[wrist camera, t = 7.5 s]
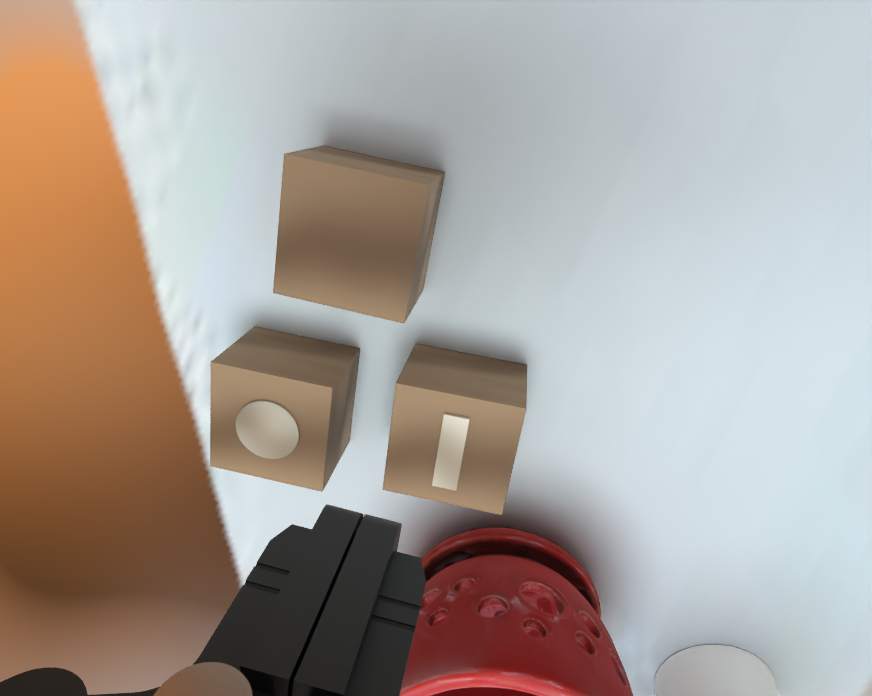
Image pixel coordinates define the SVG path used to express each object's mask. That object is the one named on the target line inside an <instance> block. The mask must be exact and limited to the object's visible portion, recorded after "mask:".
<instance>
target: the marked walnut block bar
mask: <svg viewBox="0 0 872 696" xmlns="http://www.w3.org/2000/svg"><path fill="white" fill-rule="evenodd" d="M526 394H527V365H525V364H520V363H515V362H509V361H504V360H499V359H494V358H488V357H483V356H478V355H473V354H467V353H462V352H457V351H451V350H446V349H441V348H436V347H430V346H425V345H420V344H415V346H414V348H413V350H412V352H411V354H410V356H409V358H408V360H407V362H406V364H405V366H404V368H403V370H402V372H401V374H400V376H399V378H398V380H397V382H396V388H395V396H394V404H393V412H392V419H391V427H390V435H389V443H388V451H387V459H386V467H385V475H384V483H383V490H386V491H391V492H396V493H400V494H405V495H410V496H415V497H419V498H424V499H429V500H433V501H438V502H443V503H448V504H452V505H457V506H462V507H466V508H471V509H476V510H481V511H485V512H490V513H495V514H499V515H502V512H503V507H504V503H505V499H506V494H507V490H508V486H509V481H510V477H511V473H512V468H513V464H514V459H515V455H516V451H517V446H518V442H519V438H520V433H521V429H522V425H523V420H524V416H525V412H526Z"/></svg>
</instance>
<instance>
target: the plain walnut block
mask: <svg viewBox="0 0 872 696" xmlns="http://www.w3.org/2000/svg"><path fill="white" fill-rule="evenodd" d="M444 175H445V172H442V171H438V170H433V169H428V168H424V167H419V166H415V165H410V164H405V163H401V162H396V161H391V160H387V159H382V158H377V157H373V156H368V155H363V154H359V153H354V152H350V151H345V150H340V149H336V148H331V147H326V146H320V147H315V148H310V149H305V150H301V151H296V152H291V153H286V154H284V164H283V177H282V189H281V201H280V214H279V226H278V239H277V251H276V264H275V276H274V289H273V293H276V294H280V295H284V296H289V297H293V298H297V299H302V300H306V301H310V302H315V303H319V304H323V305H327V306H332V307H336V308H340V309H345V310H349V311H353V312H358V313H362V314H366V315H371V316H375V317H379V318H383V319H388V320H392V321H396V322H401V323H405V321H406V319H407V317H408V316H409V314H410V312H411V310H412V309H413V307H414V305H415V303H416V302H417V300H418V298H419V297H420V295H421V293H422V291H423V287H424V281H425V276H426V271H427V265H428V260H429V255H430V250H431V244H432V239H433V234H434V228H435V223H436V218H437V212H438V207H439V202H440V196H441V191H442V186H443V180H444Z"/></svg>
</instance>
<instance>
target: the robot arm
mask: <svg viewBox="0 0 872 696" xmlns="http://www.w3.org/2000/svg"><path fill="white" fill-rule="evenodd" d="M400 531H401V523H397V522H394V521H390V520H386V519H382V518H378V517H374V516H370V515H367V514H365V516H364V517H363V514H362V513H358V512H354V511H350V510H347V509H343V508H339V507H335V506H331V505H326V506H325V507H324V508H323V510H322V512H321V514H320V516H319V518H318V520H317V521H316V523H315V525H314V527H313V529H308V528H304V527H300V526H296V525H293V524H292V525H291V526H289V527H288V528H287V529H285V530H284V531H283V532H281V533H280V534H278V535H277V536H276V537H274V538H273V539H272V540H270V542H269V543H268V545H267V547H266V548H265V550H264V552H263V553H262V555H261V557H260V558H259V560H258V561H257V565H256V567H254V568H253V570H252V571H251V573H250V575H249V576H248V578H247V580H246V583H245V585H243V586H242V588H241V589H240V591H239V593H238V594H237V596H236V598H235V599H234V601H233V602H232V604H231V606H230V608H229V609H228V611H227V613H226V614H225V616H224V617H223V619H222V620H221V622H220V624H219V625H218V627H217V629H216V630H215V632H214V634H213V635H212V637H211V639H210V640H209V642H208V643H207V645H206V647H205V648H204V650H203V652H202V653H201V655H200V656H199V658H198V659H197V660H196V662H195V663H194V664H193V665H192V666H189V667H186V668H184V669H182V670H180V671H178V672H177V673H175V674H174V675H172V676H171V677H170V678H169V679H167V680H166V681H165V682H164V683H163V684H162V686H160V687H157V688H155V689H151V690H147V691H143V692H135V693H119V694H101V695H87V691H86V687H85V685H84V683H83V681H82V680H81V679H80V678H79V677H78V676H77V675H75V674H74V673H72V672H70V671H68V670H65V669H60V668H40V669H34V670H30V671H26V672H24V673H21V674H18V675H16V676H13V677H11V678H9V679H7V680H4V681H2V682H0V696H400V692H401V688H402V683H403V679H404V675H405V671H406V667H407V663H408V658H409V654H410V650H411V646H412V642H413V638H414V633H415V629H416V625H417V620H418V616H419V612H420V607H421V603H422V599H423V594H424V590H425V585H426V578H425V574H424V570H423V566H422V562H421V558H419V557H415V556H411V555H407V554H403V553H400V552H397V547H398V542H399V537H400Z"/></svg>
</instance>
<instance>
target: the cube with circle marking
mask: <svg viewBox="0 0 872 696" xmlns="http://www.w3.org/2000/svg"><path fill="white" fill-rule="evenodd" d="M359 354H360V348H355V347H351V346H346V345H341V344H336V343H331V342H327V341H322V340H317V339H312V338H307V337H303V336H298V335H293V334H288V333H283V332H279V331H274V330H269V329H264V328H259V327H253V328H252V329H251V330H250V331H249V332H247V333H246V334H245V335H244V336H242V337H241V338H240V339H239V340H237V341H236V342H235V343H234V344H232V345H231V346H230V347H229V348H228V349H226V350H225V351H224V352H223V353H221V354H220V355H219V356H218V357H216V358H215V359H214V360H213V361H211V432H210V466H212V467H217V468H221V469H226V470H230V471H234V472H239V473H243V474H247V475H252V476H256V477H261V478H265V479H269V480H274V481H278V482H282V483H287V484H291V485H296V486H300V487H304V488H309V489H313V490H317V491H323V489H324V488H325V486H326V484H327V482H328V480H329V478H330V476H331V475H332V473H333V471H334V469H335V467H336V465H337V464H338V462H339V460H340V458H341V456H342V454H343V452H344V451H345V449H346V447H347V445H348V443H349V441H350V432H351V423H352V415H353V406H354V397H355V389H356V380H357V371H358V363H359Z"/></svg>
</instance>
